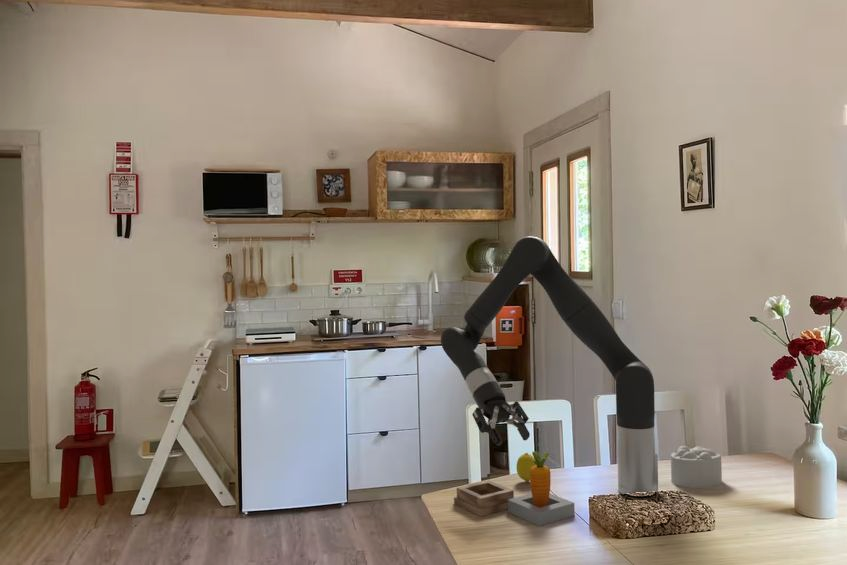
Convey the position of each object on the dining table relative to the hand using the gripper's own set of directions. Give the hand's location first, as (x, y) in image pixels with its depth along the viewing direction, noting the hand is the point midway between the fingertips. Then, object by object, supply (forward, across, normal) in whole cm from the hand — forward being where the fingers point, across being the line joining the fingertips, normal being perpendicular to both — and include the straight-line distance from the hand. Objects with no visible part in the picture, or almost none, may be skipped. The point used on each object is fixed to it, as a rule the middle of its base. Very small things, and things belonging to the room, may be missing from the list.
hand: (514, 441), depth 167 cm
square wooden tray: (+9, -7, +13) cm, 17 cm away
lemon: (+4, +13, +19) cm, 23 cm away
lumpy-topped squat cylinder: (+22, +49, 0) cm, 54 cm away
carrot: (+18, 0, +4) cm, 18 cm away
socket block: (+18, 0, +4) cm, 18 cm away
